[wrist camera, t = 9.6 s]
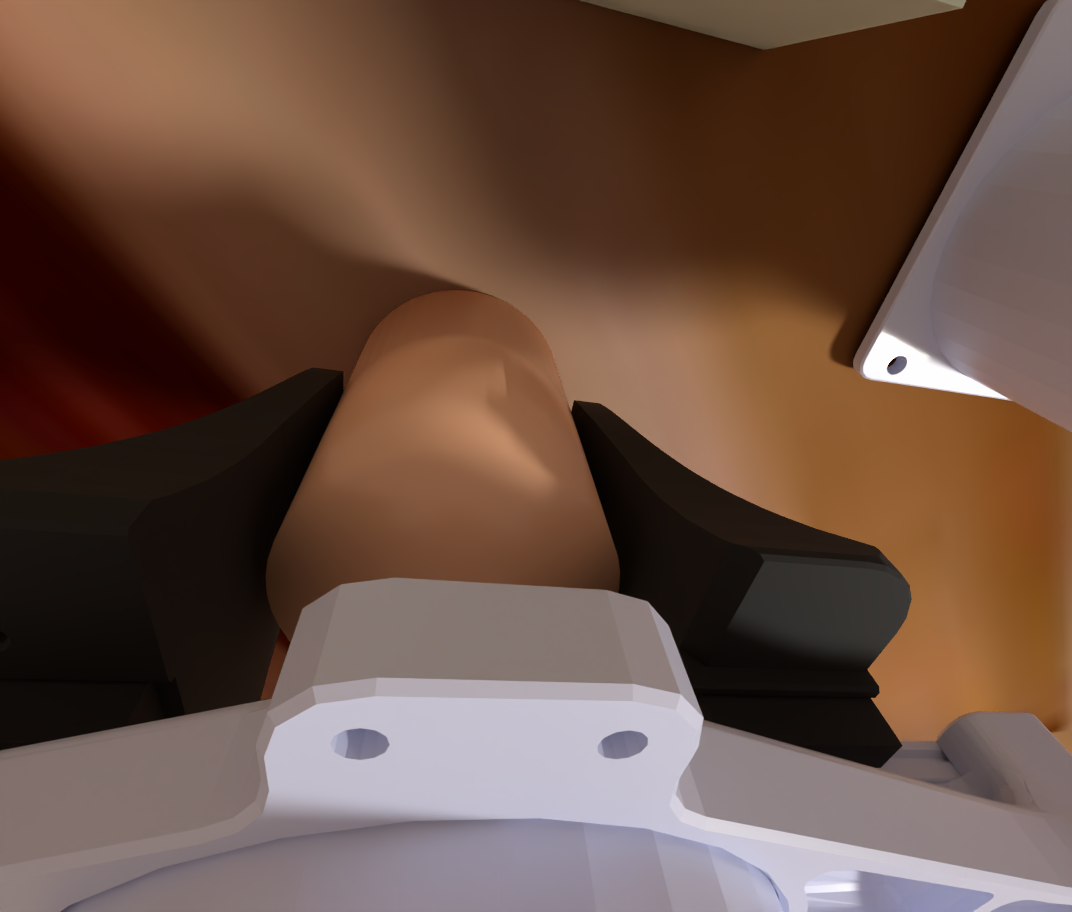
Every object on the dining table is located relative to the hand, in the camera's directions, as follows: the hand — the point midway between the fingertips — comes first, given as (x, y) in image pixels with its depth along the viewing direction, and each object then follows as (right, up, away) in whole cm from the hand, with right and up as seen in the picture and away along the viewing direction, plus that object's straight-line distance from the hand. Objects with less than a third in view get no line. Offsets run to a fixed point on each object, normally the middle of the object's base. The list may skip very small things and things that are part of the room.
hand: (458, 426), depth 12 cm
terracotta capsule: (0, +1, +2) cm, 2 cm away
